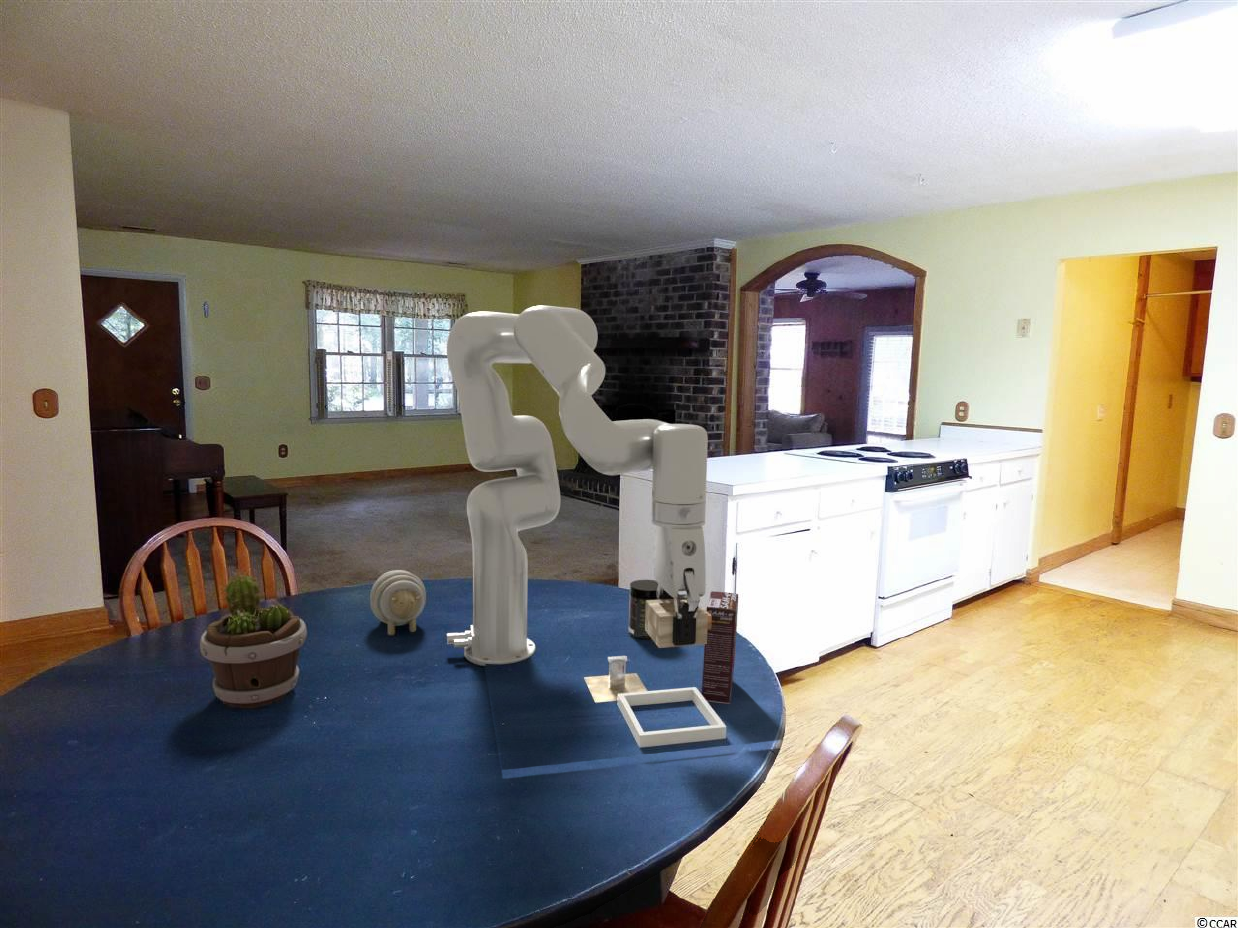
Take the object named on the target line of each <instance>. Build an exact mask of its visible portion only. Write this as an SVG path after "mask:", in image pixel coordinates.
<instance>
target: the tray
mask: <svg viewBox="0 0 1238 928" xmlns="http://www.w3.org/2000/svg"><path fill="white" fill-rule="evenodd" d="M689 701H692V702H693V703H694V705H695V706H696V707H697V709H698V711H699V712H700V713H701V714H702V716H703V717H704V719H705V720H706V721H707V723H708V724H709V725H702V726H701V725H700V726H691V727H684V728H683V727H680V728H671V729H662V730H661V729H660V730H651V731H650V730H649V731H644V729H643V728H642V726H641V724H640V722H639V721H638V719H637V717H636V715H635V713H634V711H633V709H632V708H631V707H634V706H644V705H656V704H657V705H658V704H667V703H678V702H689ZM616 702H617V703H616V704H617V706H618V708H619V711H620V713H621V715H622V716H623V718H624V720H625V722H626V724H627V726H628V728H629V729H630V732H631V733H632V734H631V735H632V736H633V738H634V740H635V742H636V744H637V746H638V747H639V748H640V749H641V748H647V747H649V748H650V747H656V746H657V747H658V746H667V745H676V744H685V743H696V742H706V741H714V740H715V741H716V740H723V739H726V738H727V726H726V724H725V722H724V721H722V719H721V718H720V716H719V715H718V714H717V713H716V711H715V710H714V709H713V708H712V706H711V705H710V703H709V701H706V700H705V698H704V697H703V696H702V694H701V692H700V690H699V689H698V687H695V686H693V687H681V688H670V689H658V690H647V691H644V692H633V693H621V694H618V701H616Z"/></svg>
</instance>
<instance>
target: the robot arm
mask: <svg viewBox="0 0 1238 928" xmlns="http://www.w3.org/2000/svg"><path fill="white" fill-rule="evenodd" d="M447 337H448V338H447V343H446V358H447V364H448V367H449V368H448V369H449V370H450V375H451V377H452V380H453V382H454V386H455V388H456V392H457V396H458V397H457V398H458V401H459V408H460V416H461V422H462V428H463V435H464V443H465V447H466V453H467V456H468V459H469V462H470V465H471V466H472V467H473V468H474V469H476V470H478V471H479V472H486V473H487V472H492V473H493V472H502V471H510V470H516V475H517V476H509V477H503V478H496V479H490V480H487V481H484V482H482V483H479V484H478V485H477V486H475V487H474V488H473V489H472V490H471V491H470V493H469V495H468V496H467V499H466V514H467V519H468V525H469V531H470V537H471V542H472V543H471V547H472V549H471V550H472V624H470V630H464V632H448V633H446V644H447V645H453V647H454V649H455V648H458V649H459V648H464V650H463V654H464V658H465V659H466V660H467V661H469V662H470V663H473V664H474V665H478V666H483V667H486V664H487V665H506V664H507V665H508V664H513V663H514V664H515V663H518V662H521V661H524V660H526V659H528V658H531V656H533V655H534V654H535V652H536V644H535V643H534V641H533V640H531V639H529V638H528V571H529V570H528V569H529V568H528V554H527V550H526V547H525V546H524V545H523V542H522V541H521V539H520V537H519V533H518V532H521V531H523V530H527V529H532V528H537V527H541V526H544V525H547V524H549V523H551V522H553V521H554V520H555V519H556V517H557V516H558V514H559V512H560V508H561V490H560V483H559V477H558V476H559V475H558V471H557V463H556V459H555V458H556V457H555V450H554V446H553V445H554V444H553V441H552V437H551V434H550V432H549V430H548V429H547V427H546V425H545V424H544V422H543V421H541V420H540V419H539V418H537V417H535V416H533V415H525V414H524V415H522V414H521V415H513V413H512V410H511V406H510V398H509V393H508V389H507V387H506V385H505V383H504V381H503V380H502V379H503V378H501V376H500V375H499V374H498V372H497V371H496V370H495V369H494V368H493V365H494V364H495V363H497V364H532V365H533V366H534V367H535V368H536V369H537V371H538V372H539V373H540V374H541V375H542V377H543V378H544V379H545V380H546V381H547V382H548V384H549V386H550V387H551V388H552V389H553V390H554V391H555V392H556V394H557V395H558V397H559V400H558V401H559V402H558V412H559V414H558V415H559V418H560V423H561V428H562V431H563V433H564V435H565V437H566V438H567V440H568V442H569V443H570V444H571V445H572V446H573V448H574V449H575V451H577V453H578V454H579V455H580V456H581V458H582V459H583V460H584V461H585V462H586V463H587V465H589V466H590V467H591V468H592V469H594V471H596V472H598V473H601V474H602V475H607V476H618V475H619V476H620V475H624V474H630V473H635V472H636V473H637V472H646V471H652V487H651V489H652V491H651V493H652V494H651V523H652V524H653V525H655V534H654V546H653V548H654V549H653V576H654V580H655V581H656V582H657V583H658V588H657V598H661V599H674V605H675V613H676V617H673V644H674V645H675V646H678V647H680V646H679V645H690V646H692V645H691V644H695V642H696V618H697V609H698V605H700V602H701V597H704V596H705V595H706V591H707V589H706V588H707V587H706V586H707V583H706V580H707V579H706V574H707V573H706V570H707V569H706V546H705V534H704V528H703V526H705V525H706V509H707V508H706V506H707V505H706V504H707V503H706V500H707V471H708V470H707V469H708V446H709V445H708V444H709V441H708V433H707V430H706V429H705V428H704V427H703V426H700V425H697V424H686V423H668V422H666V421H662V420H659V419H653V418H651V419H650V418H646V419H645V418H643V419H628V420H627V419H625V420H615V421H614V420H613V421H612V420H611V419H610V418H609V416H607V415H606V413H605V412H604V411H603V410H602V409H601V407H599V405H598V404H597V402H596V401H595V400H594V398H593V396H592V395H594V394H595V393H596V392H597V390H598V389H599V388H600V386H601V385H602V383H603V381H604V379H605V376H606V366H605V363H604V361H603V360H602V359H601V358H600V357H599V356H598V355H597V353H596V352H595V351H594V350H595V349H596V347H597V343H598V330H597V326H596V323H595V322H594V320H593V319H592V317H591V316H590V315H589V314H587V313H586V312H584V311H583V310H582V309H580V308H579V309H578V308H574V307H565V306H564V307H563V306H553V305H536V306H535V305H534V306H531V307H528V308H526V309H524V310H523V311H521V313H520V314H519V313H518V314H517V313H508V312H499V311H498V312H497V311H496V312H495V311H476V312H470V313H467V314H464V315H463V316H461V317H459V318H458V319H457V320H456V321H455V322H454V324H453V325H452V327H451V328H450V331H449V333H448V336H447ZM679 592H686V594H685V593H684V594H680V593H679ZM661 599H657V600H661ZM680 600H687V603H684V604H683V606H682V608H681V603H680Z"/></svg>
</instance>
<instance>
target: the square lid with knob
mask: <svg viewBox="0 0 1238 928" xmlns="http://www.w3.org/2000/svg"><path fill="white" fill-rule="evenodd" d="M607 661H608V663H609V665H608V675H597V676H595V675H594V676H584V677H583V679H584V681H585V684H586V686H587V687H588V690H589V692H590V695H591V697H592V699H593V701H594V703H595V704H597V703H608V702H617V701H618V694H621V693H633V692H644V691H648V689H647V688H646V687H645V685H644V683H643V682H642V680H641V678H640V676H639V675H638V673H637V672H635V673H634V672H632V673H626V667H627V665H626V662H628V657H627V655H617V656H616V655H615V656H607Z"/></svg>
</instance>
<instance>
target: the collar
mask: <svg viewBox="0 0 1238 928" xmlns="http://www.w3.org/2000/svg"><path fill="white" fill-rule="evenodd" d="M680 603H681V608H682V606H683V604H684V603H687V600H680ZM673 617H676V613H675V605H674V599H661V600H646V609H645V631H646V632H647V633H648V634H649V636H650V637H651V638H652V640H651V641H653V642H654V643H655V645H656V646H657V647H658V648H659V649H662V648H663V649H664V648H675V647H686V646H700V645H705V644H707V629H711V621H712V615H711V614H709V613H708V612H707V611H706V610H705V609H704V608H703V607H702V606H701V605H700V604H698V609H697V618H696V642H695V644H691V645H679V646H675V645H674V644H673Z"/></svg>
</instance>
